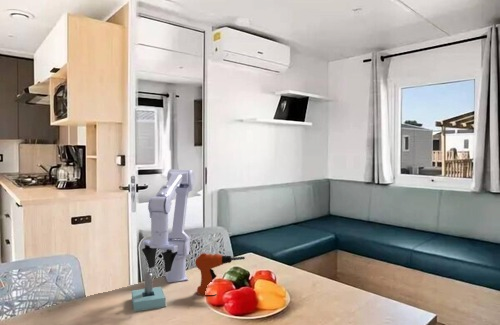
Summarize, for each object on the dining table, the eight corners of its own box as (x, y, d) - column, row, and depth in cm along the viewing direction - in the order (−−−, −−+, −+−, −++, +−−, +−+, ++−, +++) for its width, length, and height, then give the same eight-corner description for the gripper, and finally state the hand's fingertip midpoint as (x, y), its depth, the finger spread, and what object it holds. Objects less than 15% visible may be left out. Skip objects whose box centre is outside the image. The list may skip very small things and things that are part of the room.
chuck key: (144, 304, 118) (144, 275, 118) (144, 301, 121) (144, 272, 121) (152, 303, 119) (152, 274, 118) (152, 300, 121) (152, 271, 121)
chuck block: (131, 298, 122) (131, 290, 122) (161, 294, 126) (161, 286, 126) (133, 311, 113) (133, 302, 113) (165, 306, 117) (165, 297, 117)
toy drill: (248, 293, 125) (243, 251, 124) (196, 297, 126) (191, 256, 126) (249, 288, 130) (244, 247, 129) (199, 292, 131) (194, 252, 131)
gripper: (135, 230, 122) (136, 268, 123) (167, 236, 115) (167, 276, 116) (150, 226, 129) (150, 263, 129) (181, 231, 122) (181, 270, 122)
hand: (159, 269), depth 123 cm, fingers open, 7 cm apart
